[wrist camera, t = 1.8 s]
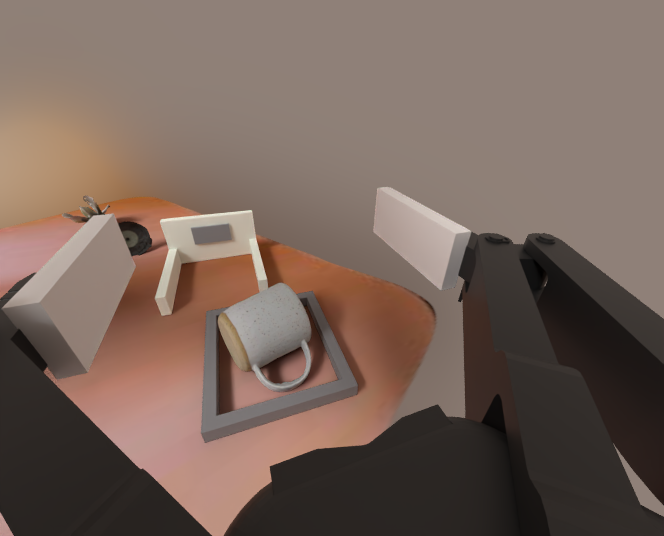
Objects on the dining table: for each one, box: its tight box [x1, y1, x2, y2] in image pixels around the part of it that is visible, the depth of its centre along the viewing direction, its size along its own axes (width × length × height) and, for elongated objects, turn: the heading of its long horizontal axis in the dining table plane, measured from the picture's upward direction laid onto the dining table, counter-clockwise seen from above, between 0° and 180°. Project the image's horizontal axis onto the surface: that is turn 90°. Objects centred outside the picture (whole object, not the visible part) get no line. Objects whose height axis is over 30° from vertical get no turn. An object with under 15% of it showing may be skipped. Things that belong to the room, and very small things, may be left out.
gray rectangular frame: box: [201, 291, 358, 443], centre depth 33 cm, size 14×16×2 cm
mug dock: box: [155, 210, 268, 316], centre depth 44 cm, size 14×15×8 cm
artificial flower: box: [62, 196, 152, 256], centre depth 56 cm, size 9×22×10 cm, turn 48°
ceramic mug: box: [218, 283, 311, 392], centre depth 30 cm, size 11×8×8 cm
